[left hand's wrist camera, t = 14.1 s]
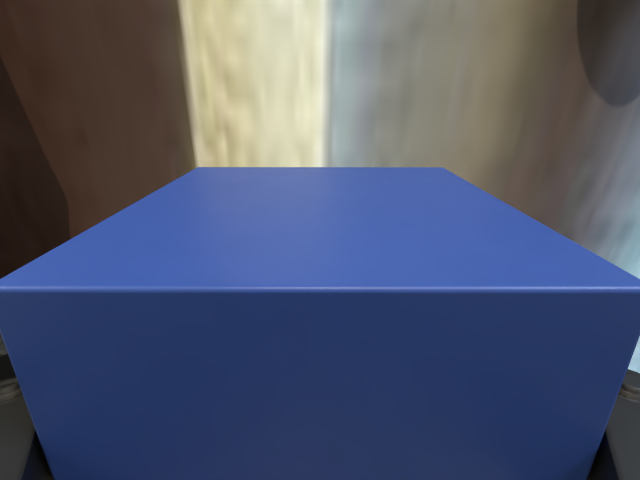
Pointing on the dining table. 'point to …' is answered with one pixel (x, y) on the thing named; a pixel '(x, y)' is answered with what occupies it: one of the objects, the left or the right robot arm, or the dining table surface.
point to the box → (320, 334)
